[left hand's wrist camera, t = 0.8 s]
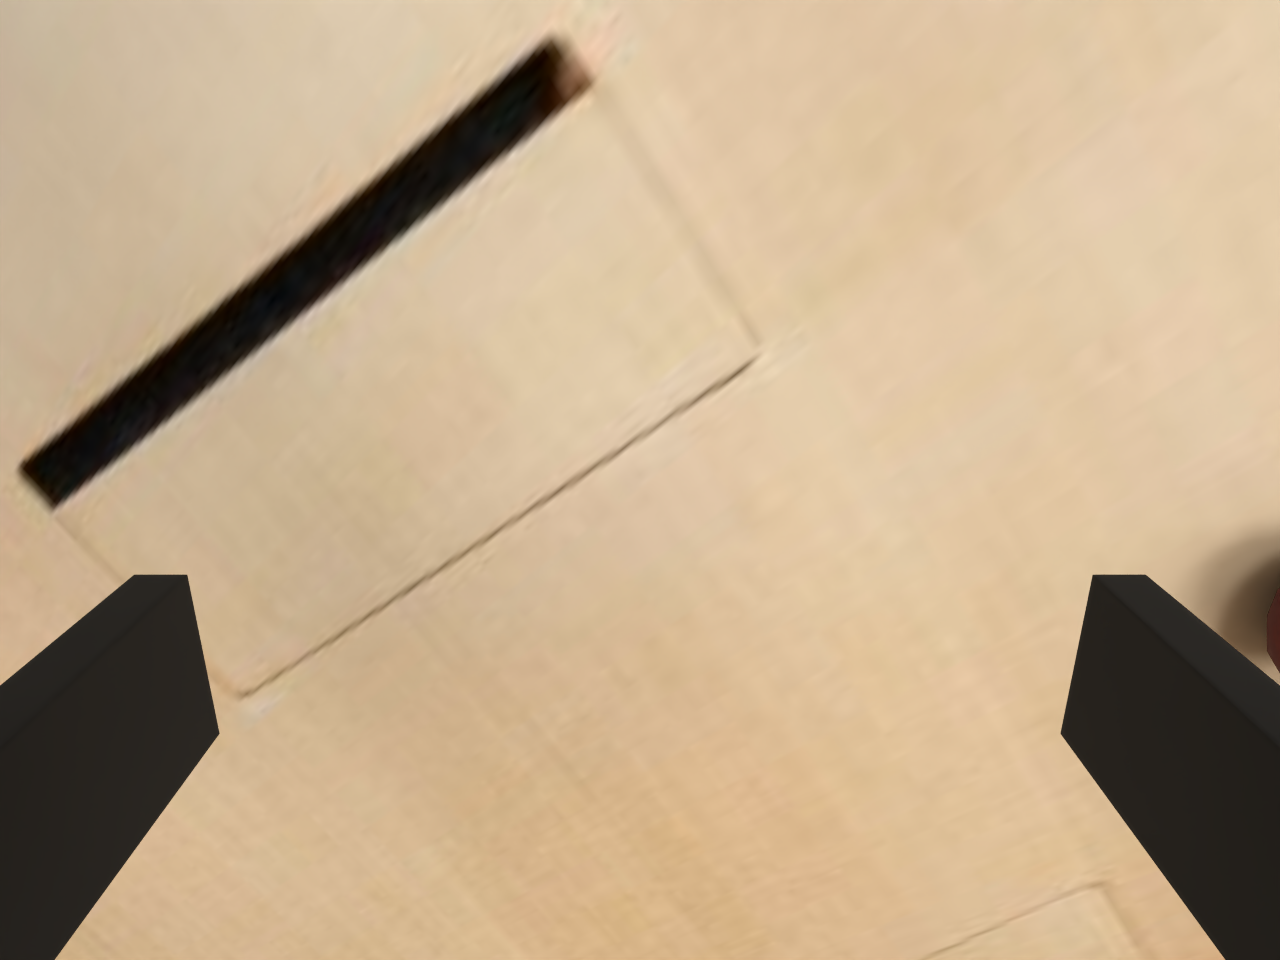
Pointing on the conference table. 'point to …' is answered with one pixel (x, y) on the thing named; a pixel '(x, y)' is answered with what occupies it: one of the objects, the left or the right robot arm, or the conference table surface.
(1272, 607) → the dark maroon ball
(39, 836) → the left robot arm
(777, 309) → the conference table surface
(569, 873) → the conference table surface
